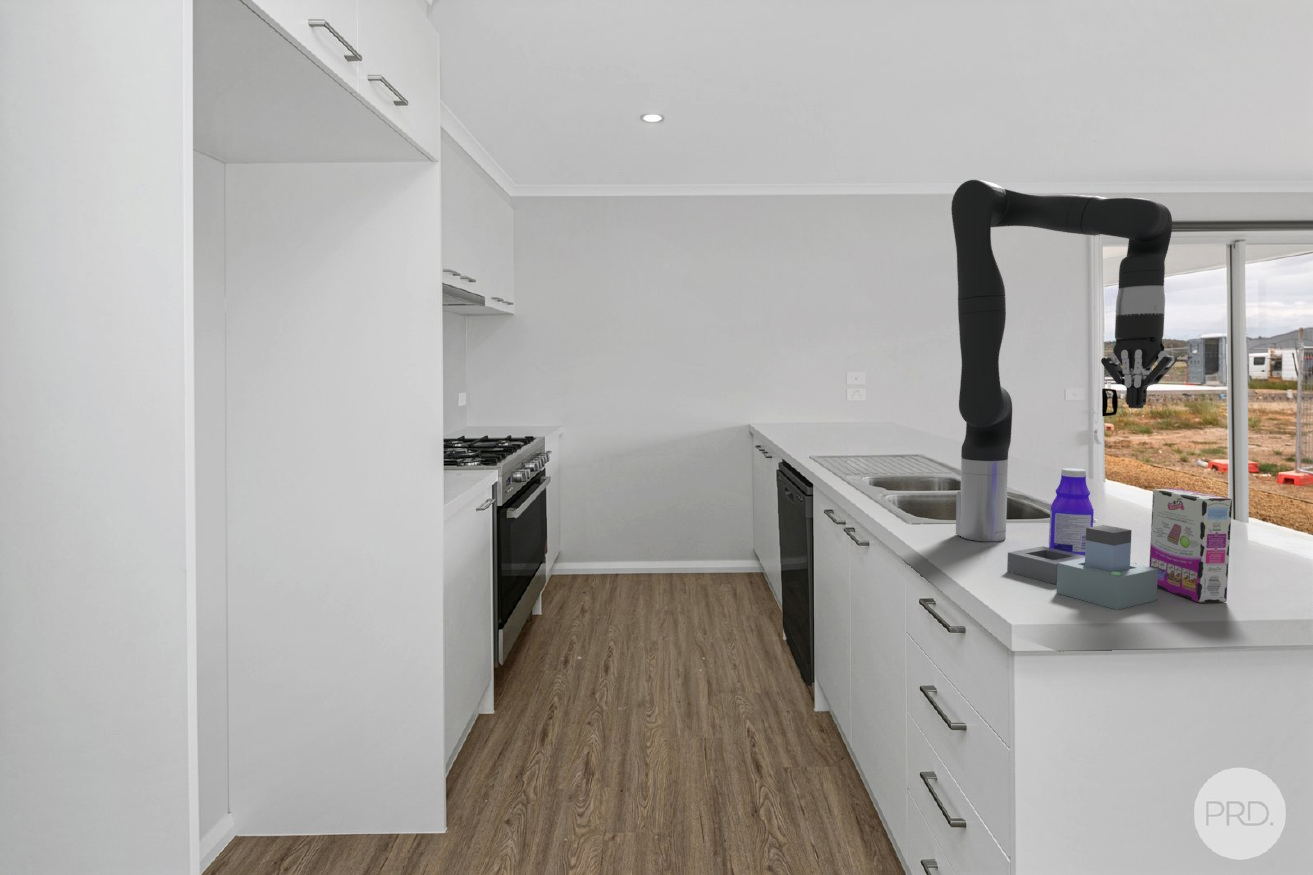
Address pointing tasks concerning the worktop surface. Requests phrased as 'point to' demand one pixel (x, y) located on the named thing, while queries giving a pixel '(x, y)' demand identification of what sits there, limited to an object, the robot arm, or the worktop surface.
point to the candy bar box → (1191, 543)
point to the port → (1107, 584)
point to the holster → (1038, 562)
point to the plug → (1108, 548)
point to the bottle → (1071, 513)
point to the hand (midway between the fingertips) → (1135, 408)
